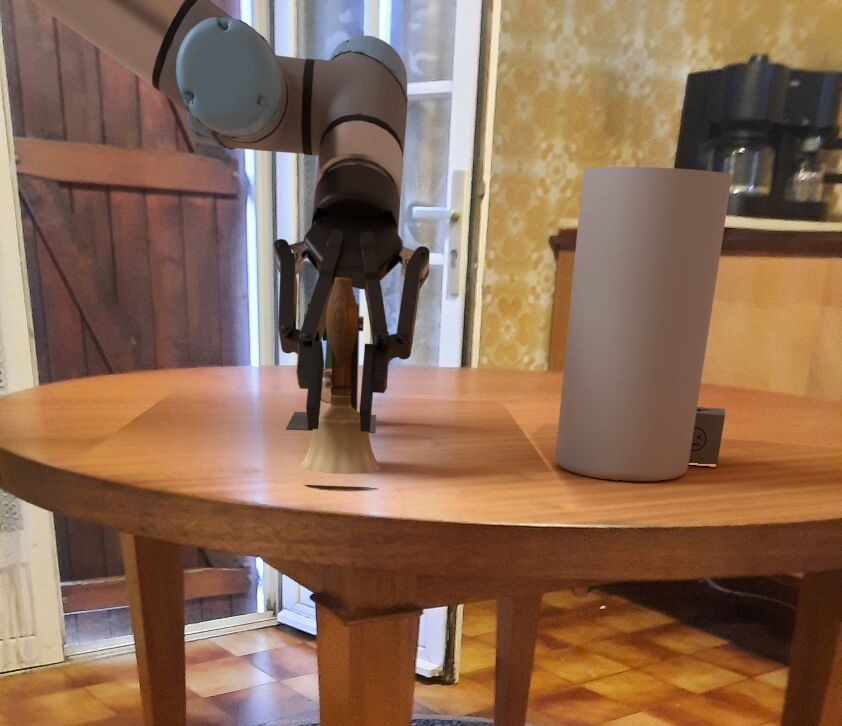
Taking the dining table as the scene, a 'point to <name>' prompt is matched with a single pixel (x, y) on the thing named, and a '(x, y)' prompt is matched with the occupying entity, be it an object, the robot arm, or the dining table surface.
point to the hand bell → (340, 398)
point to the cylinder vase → (639, 319)
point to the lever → (327, 372)
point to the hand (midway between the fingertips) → (338, 419)
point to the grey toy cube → (707, 435)
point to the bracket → (300, 418)
